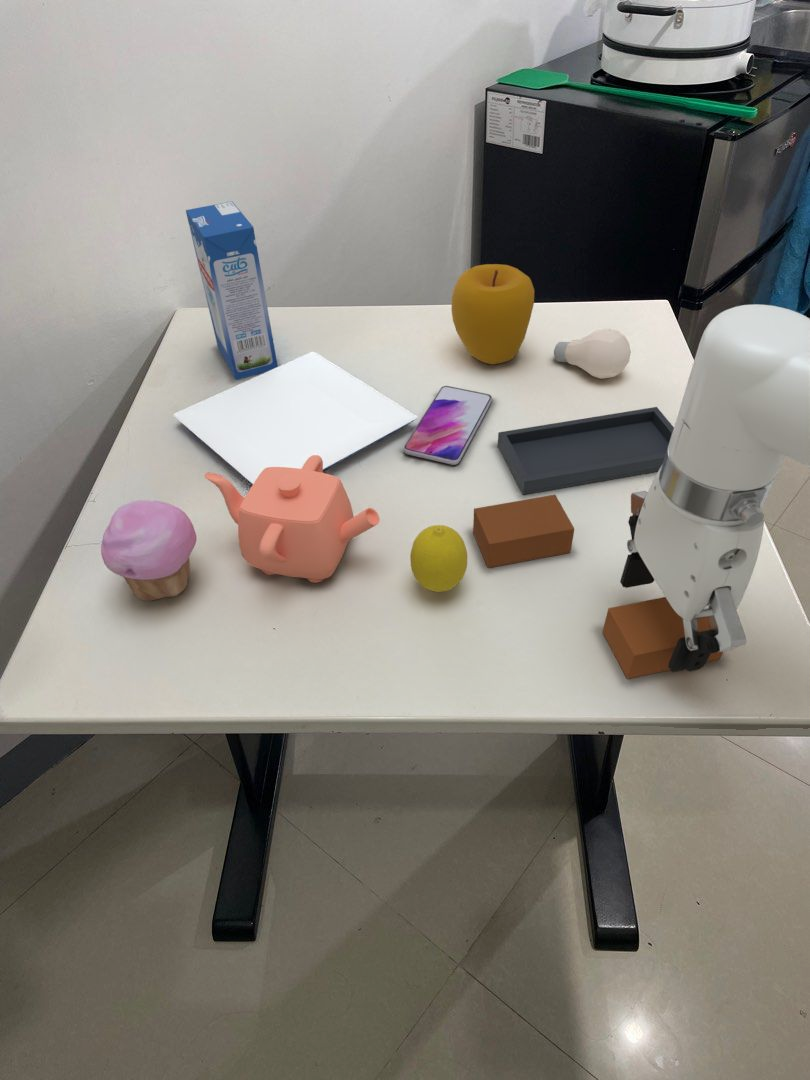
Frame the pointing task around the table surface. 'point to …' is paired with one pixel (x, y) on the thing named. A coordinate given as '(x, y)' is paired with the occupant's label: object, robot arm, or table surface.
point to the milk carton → (233, 287)
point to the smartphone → (448, 425)
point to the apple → (492, 311)
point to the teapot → (294, 520)
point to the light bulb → (596, 353)
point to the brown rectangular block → (646, 635)
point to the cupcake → (150, 548)
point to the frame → (586, 449)
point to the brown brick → (522, 530)
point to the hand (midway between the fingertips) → (659, 622)
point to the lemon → (438, 558)
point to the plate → (294, 417)
